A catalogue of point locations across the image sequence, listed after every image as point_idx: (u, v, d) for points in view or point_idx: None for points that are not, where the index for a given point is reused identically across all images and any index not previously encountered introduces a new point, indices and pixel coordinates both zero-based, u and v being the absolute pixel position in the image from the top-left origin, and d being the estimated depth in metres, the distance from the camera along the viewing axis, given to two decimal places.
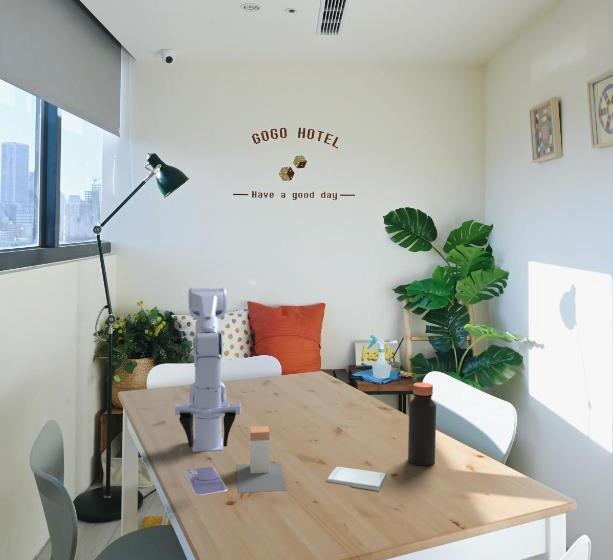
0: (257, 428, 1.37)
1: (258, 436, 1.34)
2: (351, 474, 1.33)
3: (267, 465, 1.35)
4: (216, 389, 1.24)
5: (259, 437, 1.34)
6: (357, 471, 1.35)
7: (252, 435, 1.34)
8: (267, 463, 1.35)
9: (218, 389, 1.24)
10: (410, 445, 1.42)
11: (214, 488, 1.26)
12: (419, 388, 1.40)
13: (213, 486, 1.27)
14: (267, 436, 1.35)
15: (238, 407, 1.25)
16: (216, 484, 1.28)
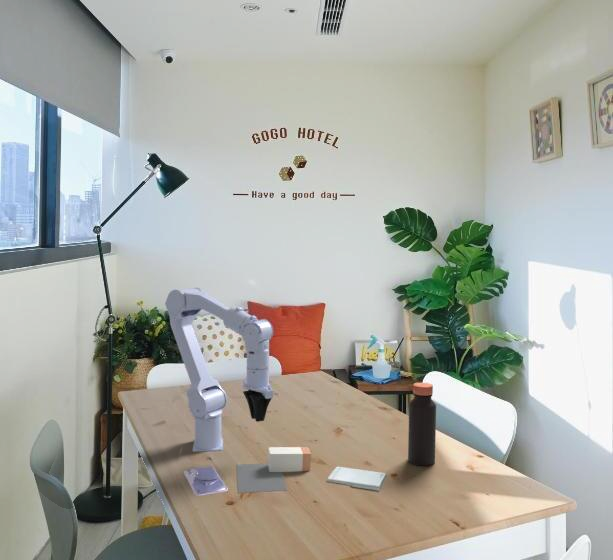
0: None
1: (306, 461, 1.36)
2: (351, 474, 1.33)
3: (276, 470, 1.35)
4: (254, 370, 1.40)
5: (305, 462, 1.36)
6: (357, 471, 1.35)
7: (308, 455, 1.36)
8: (278, 470, 1.35)
9: (256, 371, 1.40)
10: (410, 445, 1.42)
11: (214, 488, 1.26)
12: (419, 388, 1.40)
13: (213, 486, 1.27)
14: (305, 469, 1.36)
15: (265, 392, 1.37)
16: (216, 484, 1.28)
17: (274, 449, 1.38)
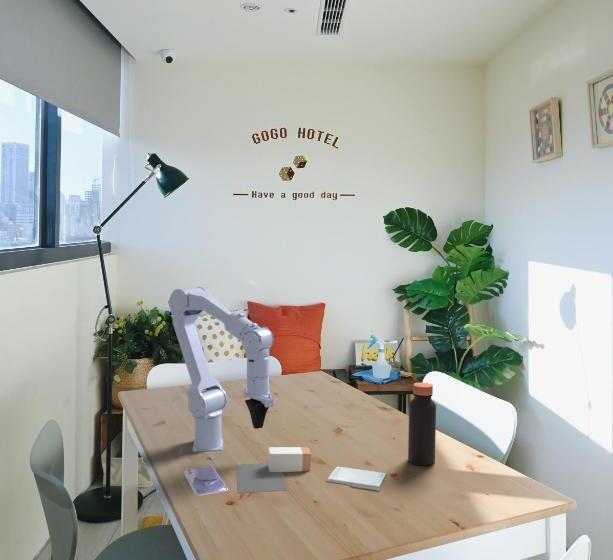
0: None
1: (306, 461, 1.36)
2: (351, 474, 1.33)
3: (276, 470, 1.35)
4: (254, 379, 1.40)
5: (305, 462, 1.36)
6: (357, 471, 1.35)
7: (308, 455, 1.36)
8: (278, 470, 1.35)
9: (256, 379, 1.40)
10: (410, 445, 1.42)
11: (214, 488, 1.26)
12: (419, 388, 1.40)
13: (214, 486, 1.27)
14: (305, 469, 1.36)
15: (265, 400, 1.37)
16: (216, 484, 1.28)
17: (274, 449, 1.38)
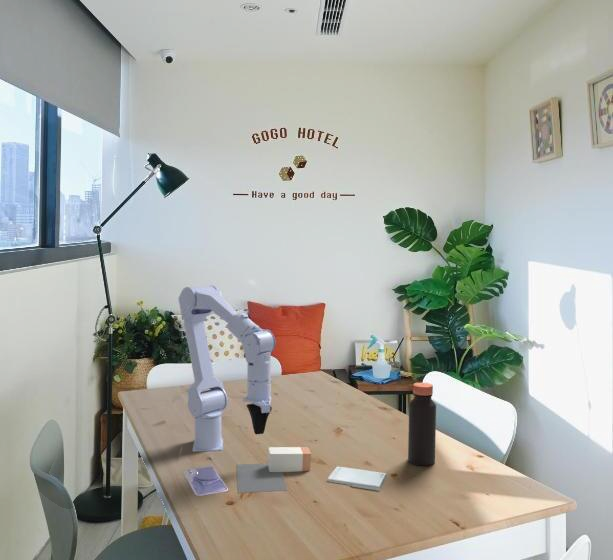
0: None
1: (306, 461, 1.36)
2: (351, 474, 1.33)
3: (276, 470, 1.35)
4: (253, 383, 1.36)
5: (305, 462, 1.36)
6: (358, 470, 1.35)
7: (308, 455, 1.36)
8: (278, 470, 1.35)
9: (255, 383, 1.36)
10: (410, 445, 1.42)
11: (214, 488, 1.26)
12: (419, 388, 1.40)
13: (214, 486, 1.27)
14: (305, 469, 1.36)
15: (261, 405, 1.32)
16: (216, 484, 1.28)
17: (274, 449, 1.38)
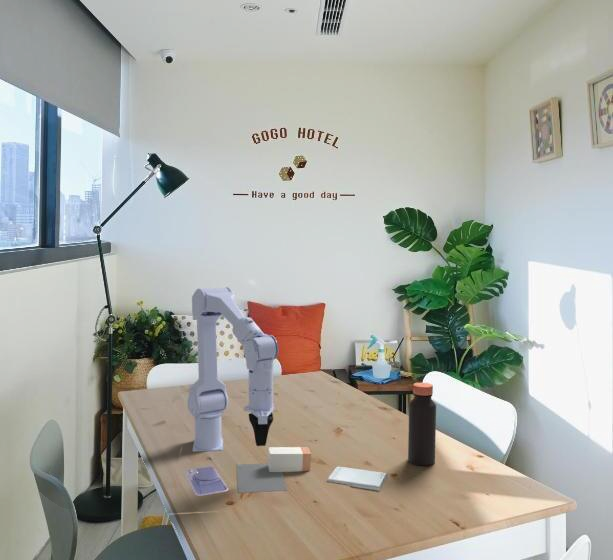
0: None
1: (306, 461, 1.36)
2: (351, 474, 1.33)
3: (276, 470, 1.35)
4: (253, 391, 1.28)
5: (305, 462, 1.36)
6: (358, 470, 1.35)
7: (308, 455, 1.36)
8: (278, 470, 1.35)
9: (255, 392, 1.28)
10: (410, 445, 1.42)
11: (215, 488, 1.26)
12: (419, 388, 1.40)
13: (214, 486, 1.27)
14: (305, 469, 1.36)
15: (258, 416, 1.24)
16: (216, 484, 1.28)
17: (274, 449, 1.38)
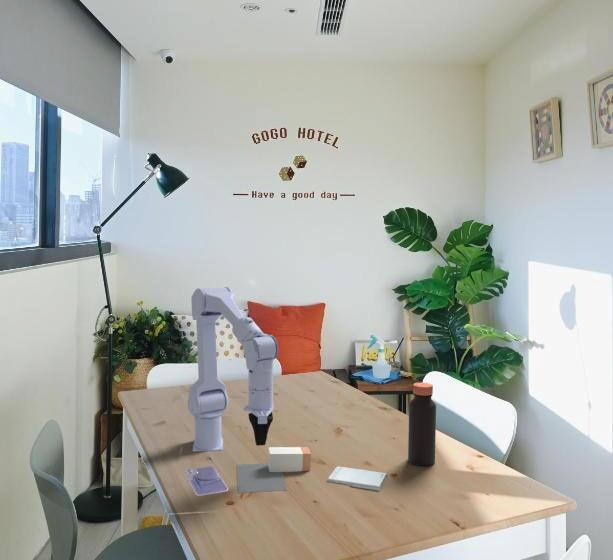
0: None
1: (306, 461, 1.36)
2: (351, 474, 1.33)
3: (276, 470, 1.35)
4: (253, 391, 1.28)
5: (305, 462, 1.36)
6: (358, 470, 1.35)
7: (308, 455, 1.36)
8: (278, 470, 1.35)
9: (255, 392, 1.28)
10: (410, 445, 1.42)
11: (215, 488, 1.26)
12: (419, 388, 1.40)
13: (214, 486, 1.27)
14: (305, 469, 1.36)
15: (257, 416, 1.24)
16: (216, 484, 1.28)
17: (274, 449, 1.38)
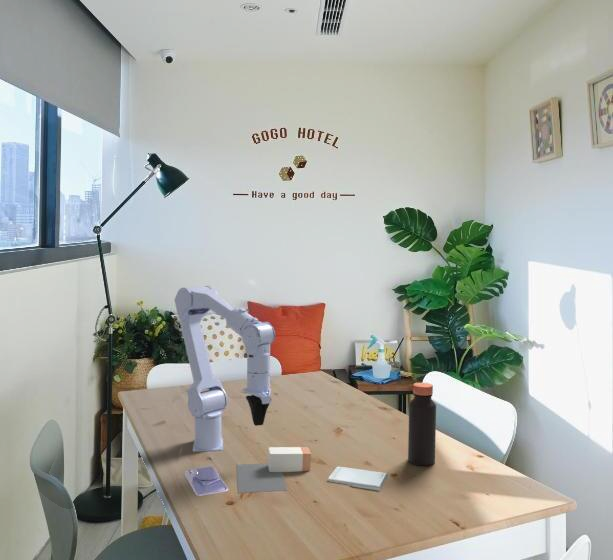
0: None
1: (306, 461, 1.36)
2: (351, 474, 1.33)
3: (276, 470, 1.35)
4: (253, 374, 1.37)
5: (305, 462, 1.36)
6: (358, 470, 1.35)
7: (308, 455, 1.36)
8: (278, 470, 1.35)
9: (255, 375, 1.37)
10: (410, 445, 1.42)
11: (215, 488, 1.26)
12: (419, 388, 1.40)
13: (214, 486, 1.27)
14: (305, 469, 1.36)
15: (262, 397, 1.33)
16: (217, 484, 1.28)
17: (274, 449, 1.38)
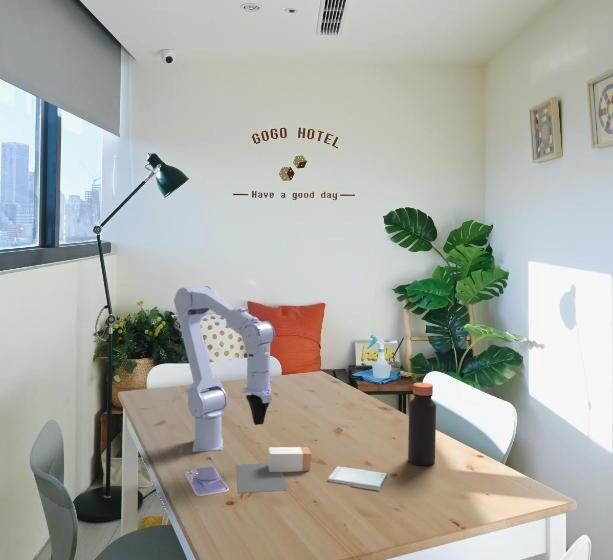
0: None
1: (306, 461, 1.36)
2: (352, 474, 1.33)
3: (276, 470, 1.35)
4: (253, 374, 1.37)
5: (305, 462, 1.36)
6: (358, 470, 1.35)
7: (308, 455, 1.36)
8: (278, 470, 1.35)
9: (255, 374, 1.37)
10: (410, 445, 1.42)
11: (215, 488, 1.26)
12: (419, 388, 1.40)
13: (214, 486, 1.27)
14: (305, 469, 1.36)
15: (262, 396, 1.33)
16: (217, 484, 1.28)
17: (274, 449, 1.38)
